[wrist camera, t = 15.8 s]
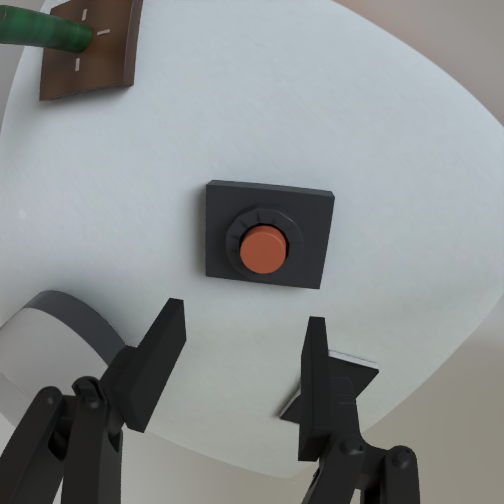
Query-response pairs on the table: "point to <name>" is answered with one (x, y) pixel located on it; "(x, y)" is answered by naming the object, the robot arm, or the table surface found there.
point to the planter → (51, 349)
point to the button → (263, 249)
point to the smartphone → (339, 367)
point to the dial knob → (42, 30)
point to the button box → (274, 215)
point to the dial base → (94, 49)
